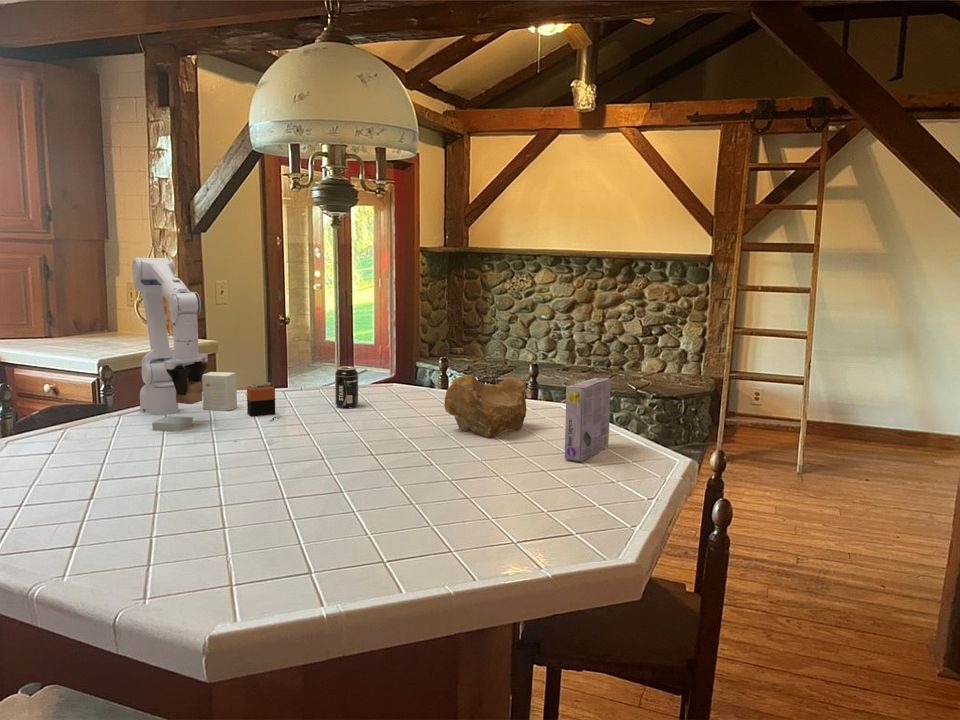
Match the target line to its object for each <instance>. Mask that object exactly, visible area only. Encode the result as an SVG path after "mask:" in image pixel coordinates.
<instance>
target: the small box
mask: <svg viewBox="0 0 960 720" xmlns="http://www.w3.org/2000/svg"><path fill="white" fill-rule="evenodd" d="M201 382H202V404H203V410H204V409H214V410H213V411H221V410H230V411H231V409H232V410H233V408H234V409H235V408H237V407H238V395H237V393H238V392H237V373H236V372H229V371H227V372H225V371H224V372H223V371H221V372H220V371H210V372H207V373H203V375H202V378H201Z"/></svg>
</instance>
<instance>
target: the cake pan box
mask: <svg viewBox="0 0 960 720" xmlns="http://www.w3.org/2000/svg"><path fill="white" fill-rule="evenodd" d="M611 384H612V380H611V378H610V377H603V378H602V377H593V378H591V379H587V380H584V381H579V382H577V383H574V384H571V385H567V386H566V388H565V389H566V390H565V423H564V424H565V428H564V429H565V431H564V432H565V433H564V459H565V460H568V461H572V462H576V463H583V462H584V461H585V460H588V459H589V458H591V457H593V456H595V455H598V453H600V452H601V451H603V450H605V449H606V448H608V447H609V441H610V439H609V438H610V413H611V412H610V409H611V408H610V407H611Z"/></svg>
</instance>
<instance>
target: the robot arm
mask: <svg viewBox="0 0 960 720" xmlns="http://www.w3.org/2000/svg"><path fill="white" fill-rule="evenodd" d="M131 272H132V281H133V285H134V289H135V290H136V291H138V292H141V295H142V299H143V305H144V313H145V319H146V327H147V332H148V333H147V334H148V340H149V345H150V346H149V347H150V351H149V352H148V353H146V354H144V356H143V357H142V359H141V378H142V381H143V383H144V385H143V386H142V387H141V389H140V391H139V406H140V410H139V411H140V413H141V414H142V413H143V414H152V415H157V416H158V415H160V416H161V415H171V414H177V413H178V412H180V411H179V403H176V392H177V395H186V391H187V381H198V382H202V375H203V374H205V373H204V372H205V371H206V369H207V368H208V367H207V366H208V363H206V362H208V361H209V359H208V354H207V353H199V351H200V350H199V330H198V329H199V328H198V327H199V325H198V316H199V315H200V314H201V311H202V309H201V307H202V302H201V297H200V295H199V293H198V292H196V291H190V290H189V288H188V287H187V285H185V283H184V282H183V281H182V280H181V279H180V278H179V277H175V276H176V275H175V274H176V265H175V262H174V260H173V259H172V258H171V257H138V256H135V258H134V259H133V260H132V265H131ZM162 294H163V295H164V297H165V298H166V300H167V302H168V309H169V314H170V320H171V323H172V326H173V328H172V329H173V333H172V334H173V349H172V348H170V342H169V337H168V336H169V335H168V329H167V322H166V316H165V310H164V309H165V307H164V302H163V296H162Z"/></svg>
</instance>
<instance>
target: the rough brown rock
mask: <svg viewBox="0 0 960 720" xmlns="http://www.w3.org/2000/svg"><path fill="white" fill-rule="evenodd" d="M444 409H445V410H444V411H445V412H446V413H448V414H449V415H451V416H454V419H455V421H456V423H457V426H458V428H459V430H461V431H462V432H469V431H472V433H478V434H480V435H481V436H483V437H484V438H486V439H490V438H492V437H496V436H499V435H500V434H503V433H504V432H507V431H510V430H512V431H519V430H521V428H523V425H524V421H525V419H526V416H527V402H526V384H525V382H524V380H523V379H521V378H520V377H517V376H508V377H506V378H505V379H504V380H502V381H500V382H499V383H496V384H491V383H483V382H480V381H479V380H478V379H477V378H476V376H475V375H473V374H465V375H463V376H461V377H458V378H456V379H455V380H453V381H452V383H451V384H450V385H449V386H448V388H447V389H446V391H445V396H444Z"/></svg>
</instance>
